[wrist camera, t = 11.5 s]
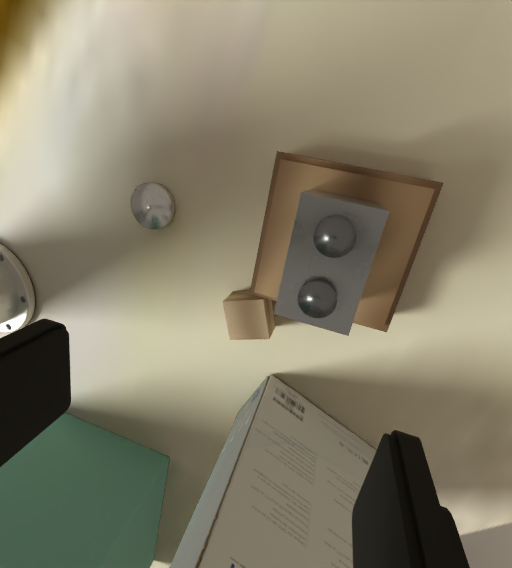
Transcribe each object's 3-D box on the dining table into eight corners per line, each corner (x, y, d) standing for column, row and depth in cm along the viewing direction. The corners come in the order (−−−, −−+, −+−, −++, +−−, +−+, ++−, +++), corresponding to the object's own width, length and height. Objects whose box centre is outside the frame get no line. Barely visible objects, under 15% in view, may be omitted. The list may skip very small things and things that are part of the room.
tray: (259, 282, 32) (247, 295, 28) (285, 154, 28) (275, 150, 24) (382, 316, 30) (387, 335, 26) (431, 182, 25) (445, 183, 22)
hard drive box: (236, 413, 38) (131, 632, 20) (270, 371, 35) (184, 584, 17) (345, 493, 37) (342, 796, 19) (390, 457, 34) (438, 778, 16)
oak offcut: (239, 326, 34) (230, 339, 32) (233, 291, 33) (222, 301, 31) (275, 325, 33) (269, 339, 30) (270, 288, 32) (263, 299, 29)
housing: (312, 188, 24) (299, 192, 18) (380, 203, 23) (391, 212, 17) (288, 286, 27) (271, 317, 21) (348, 302, 26) (348, 340, 20)
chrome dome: (136, 220, 34) (129, 222, 33) (140, 178, 32) (132, 178, 31) (173, 232, 33) (167, 234, 32) (179, 189, 32) (173, 189, 30)
